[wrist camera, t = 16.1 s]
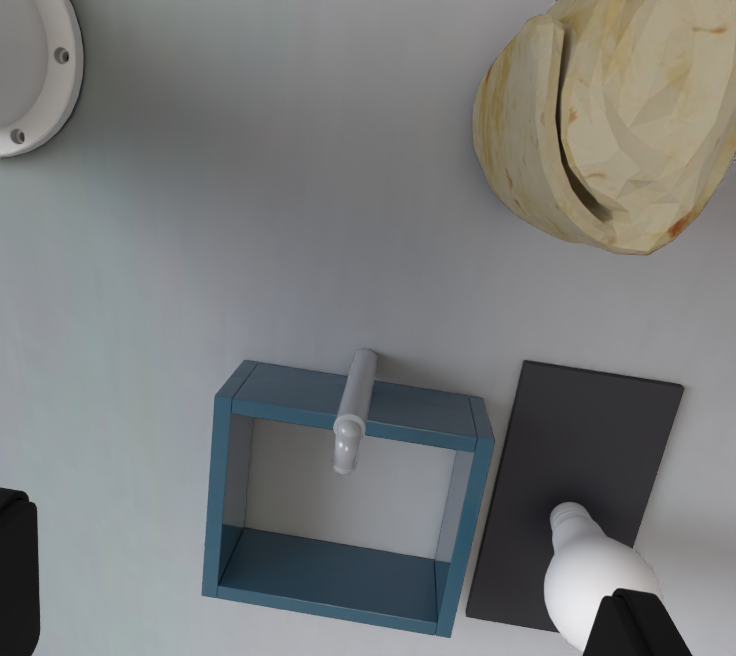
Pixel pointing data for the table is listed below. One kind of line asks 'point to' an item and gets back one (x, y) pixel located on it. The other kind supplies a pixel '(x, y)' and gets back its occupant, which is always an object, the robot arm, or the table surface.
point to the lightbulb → (588, 572)
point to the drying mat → (566, 477)
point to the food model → (612, 119)
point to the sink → (350, 423)
